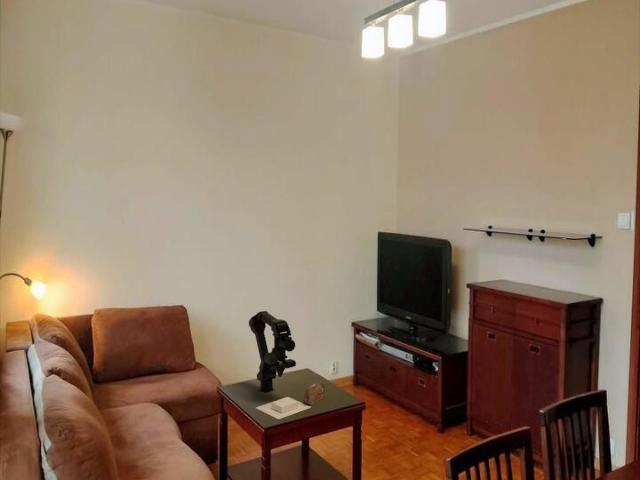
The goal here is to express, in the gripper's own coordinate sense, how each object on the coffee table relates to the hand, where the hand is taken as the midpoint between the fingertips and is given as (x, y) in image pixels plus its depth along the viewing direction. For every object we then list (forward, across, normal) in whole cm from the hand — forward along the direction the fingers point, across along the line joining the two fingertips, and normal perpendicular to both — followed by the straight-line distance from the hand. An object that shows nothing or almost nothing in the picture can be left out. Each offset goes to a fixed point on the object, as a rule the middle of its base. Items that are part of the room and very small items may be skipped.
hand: (279, 376), depth 265 cm
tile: (+10, +7, -6) cm, 13 cm away
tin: (+12, +14, +11) cm, 21 cm away
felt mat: (+12, +10, -6) cm, 16 cm away
